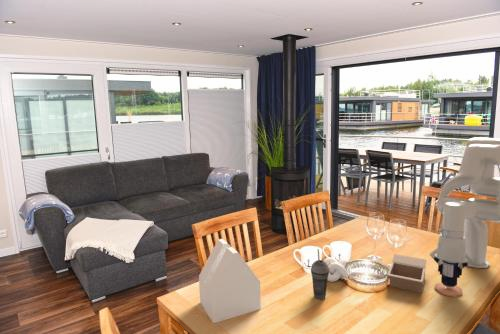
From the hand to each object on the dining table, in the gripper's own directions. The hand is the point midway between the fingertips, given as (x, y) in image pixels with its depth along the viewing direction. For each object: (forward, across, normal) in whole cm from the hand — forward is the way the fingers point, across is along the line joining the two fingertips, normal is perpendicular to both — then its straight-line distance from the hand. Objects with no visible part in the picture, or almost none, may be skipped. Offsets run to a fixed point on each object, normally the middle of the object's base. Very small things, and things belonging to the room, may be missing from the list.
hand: (449, 274), depth 146 cm
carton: (+7, -16, 0) cm, 17 cm away
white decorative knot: (+7, -43, -11) cm, 45 cm away
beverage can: (+5, 0, 0) cm, 5 cm away
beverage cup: (+7, -45, -29) cm, 54 cm away
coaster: (+7, 0, 0) cm, 7 cm away
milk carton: (+7, -74, -51) cm, 90 cm away
